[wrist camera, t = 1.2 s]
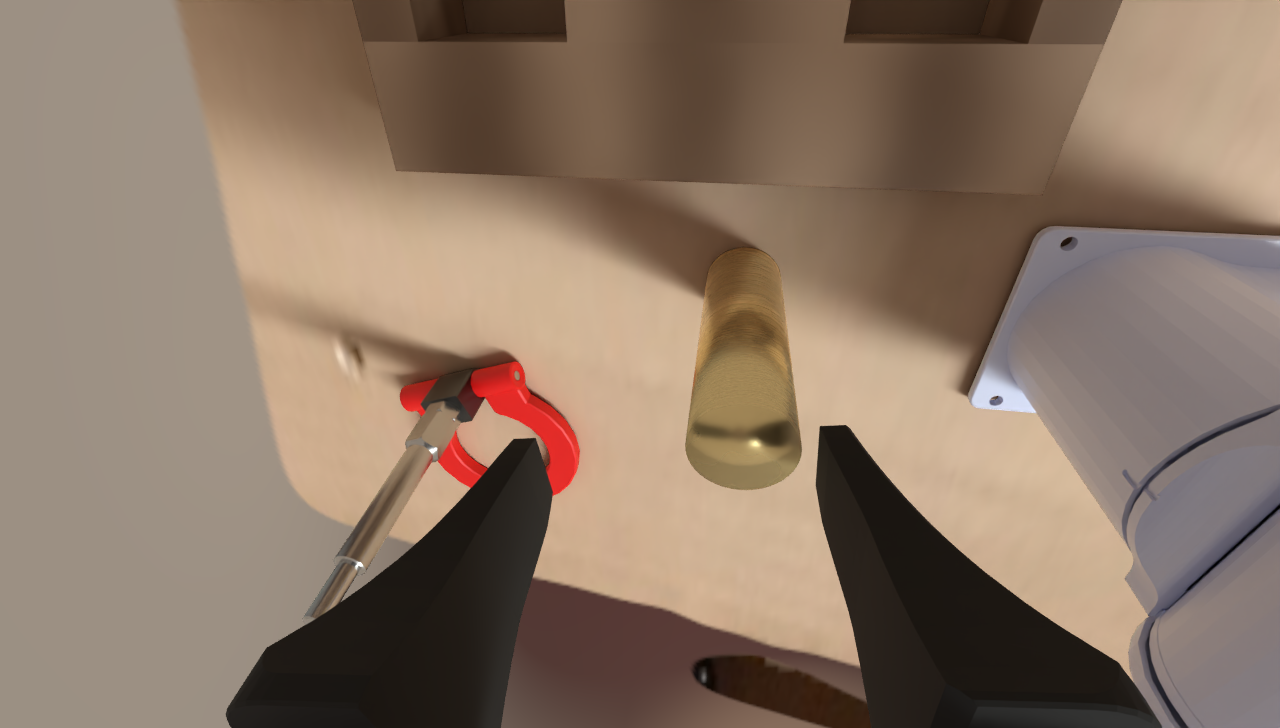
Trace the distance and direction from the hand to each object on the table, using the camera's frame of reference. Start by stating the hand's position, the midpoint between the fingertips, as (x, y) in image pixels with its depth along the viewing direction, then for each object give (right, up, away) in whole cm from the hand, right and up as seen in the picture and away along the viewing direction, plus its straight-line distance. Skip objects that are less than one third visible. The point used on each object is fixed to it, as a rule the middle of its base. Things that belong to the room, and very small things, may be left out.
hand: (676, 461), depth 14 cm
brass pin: (+3, +6, +8) cm, 11 cm away
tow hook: (-8, -1, +16) cm, 18 cm away
